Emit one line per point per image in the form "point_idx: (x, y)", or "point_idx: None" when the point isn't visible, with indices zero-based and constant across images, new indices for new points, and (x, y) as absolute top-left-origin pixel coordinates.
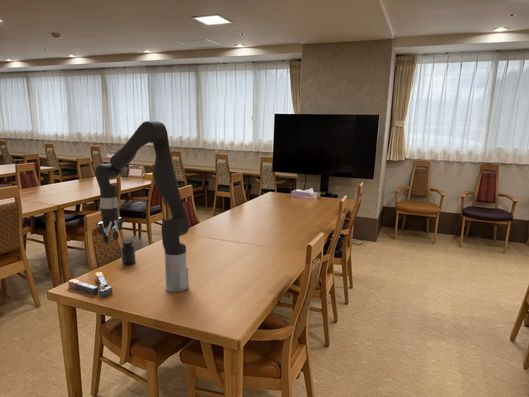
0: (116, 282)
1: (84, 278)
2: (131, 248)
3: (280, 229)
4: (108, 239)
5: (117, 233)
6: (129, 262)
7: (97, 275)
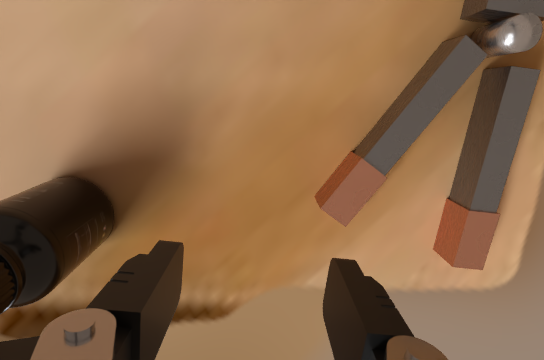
0: (334, 79)
1: None
2: (1, 216)
3: None
4: (345, 280)
5: (120, 297)
6: (91, 190)
7: (374, 187)
